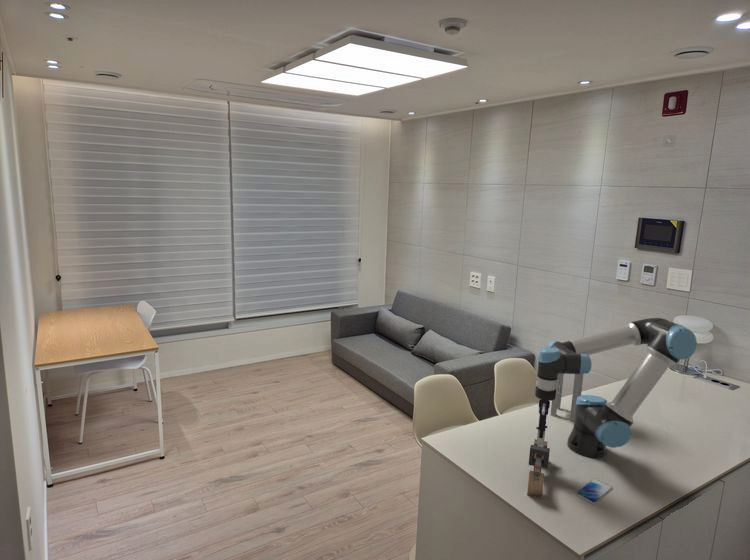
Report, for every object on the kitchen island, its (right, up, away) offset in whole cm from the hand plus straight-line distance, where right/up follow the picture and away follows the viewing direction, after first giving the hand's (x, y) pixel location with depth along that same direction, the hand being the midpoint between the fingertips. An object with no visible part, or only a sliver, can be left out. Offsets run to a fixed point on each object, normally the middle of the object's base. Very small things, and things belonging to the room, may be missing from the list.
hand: (540, 443), depth 188 cm
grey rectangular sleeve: (-2, -7, -4) cm, 8 cm away
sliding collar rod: (-3, -11, -6) cm, 12 cm away
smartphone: (+15, -13, -13) cm, 24 cm away
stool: (+29, -2, +48) cm, 56 cm away
